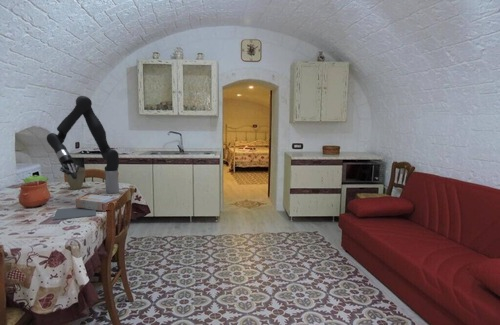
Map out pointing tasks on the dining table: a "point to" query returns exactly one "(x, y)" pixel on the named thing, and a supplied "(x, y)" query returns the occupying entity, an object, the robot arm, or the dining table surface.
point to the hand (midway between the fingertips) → (75, 178)
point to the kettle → (35, 178)
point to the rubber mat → (73, 213)
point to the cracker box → (94, 202)
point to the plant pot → (77, 182)
